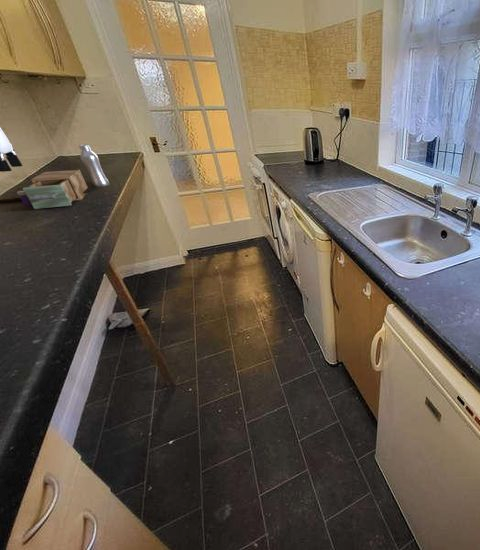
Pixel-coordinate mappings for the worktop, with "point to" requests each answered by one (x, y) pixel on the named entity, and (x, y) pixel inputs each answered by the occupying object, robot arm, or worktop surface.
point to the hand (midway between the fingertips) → (12, 168)
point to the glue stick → (24, 198)
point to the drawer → (50, 193)
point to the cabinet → (72, 175)
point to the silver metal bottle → (93, 166)
